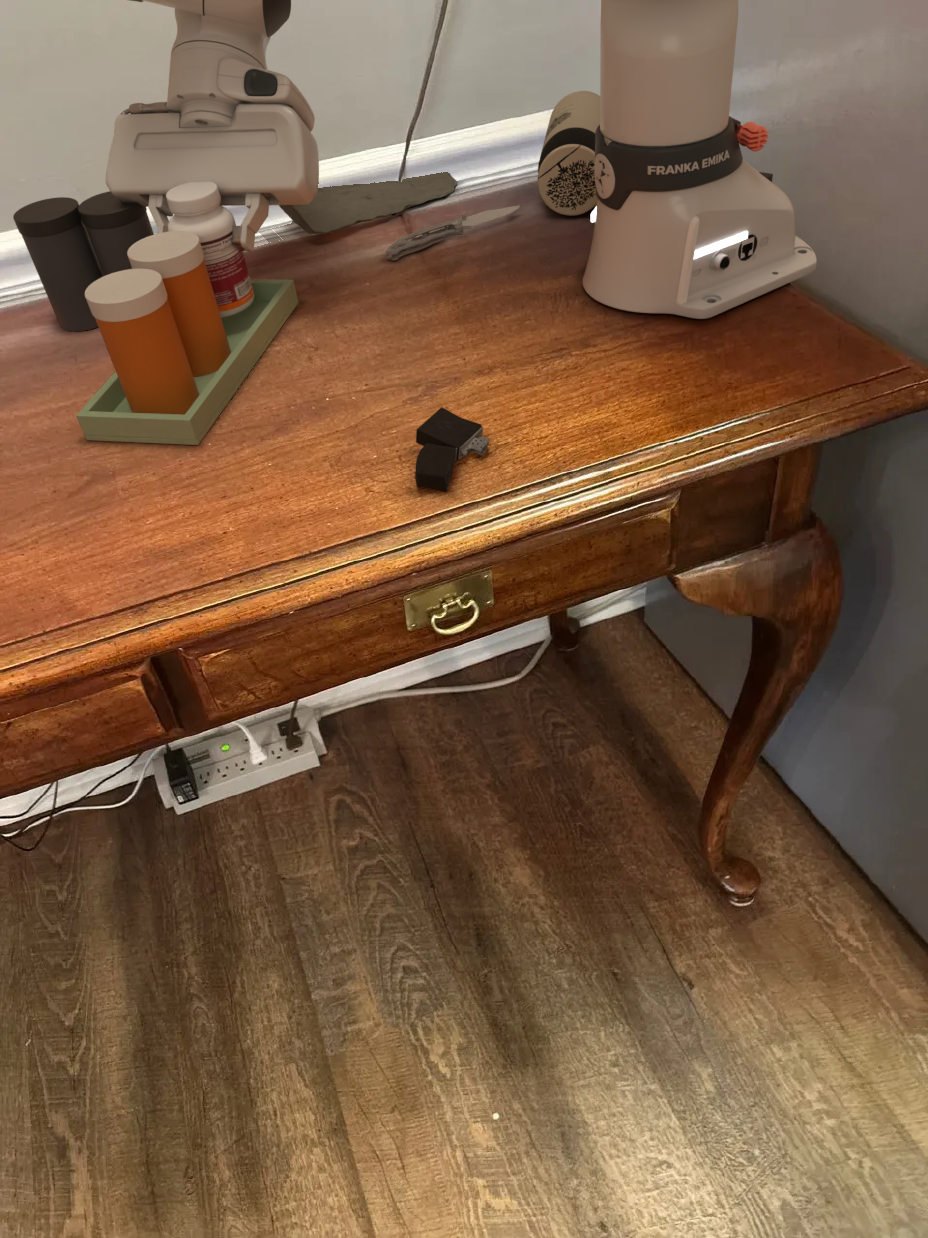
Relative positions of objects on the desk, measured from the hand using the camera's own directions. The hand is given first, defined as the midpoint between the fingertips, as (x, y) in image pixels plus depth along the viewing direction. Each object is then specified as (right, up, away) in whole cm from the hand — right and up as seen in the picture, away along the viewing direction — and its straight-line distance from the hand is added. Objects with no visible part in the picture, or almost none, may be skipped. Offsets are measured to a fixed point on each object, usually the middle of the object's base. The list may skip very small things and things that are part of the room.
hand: (205, 248), depth 88 cm
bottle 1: (-1, -10, +1) cm, 10 cm away
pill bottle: (+1, -4, +5) cm, 6 cm away
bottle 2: (-2, -16, -5) cm, 16 cm away
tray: (-1, -11, +1) cm, 11 cm away
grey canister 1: (-15, -3, +11) cm, 19 cm away
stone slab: (+17, +13, +21) cm, 30 cm away
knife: (+24, +8, +15) cm, 29 cm away
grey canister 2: (-9, -2, +11) cm, 14 cm away
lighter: (+20, -21, -14) cm, 32 cm away
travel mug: (+39, +26, +27) cm, 54 cm away
